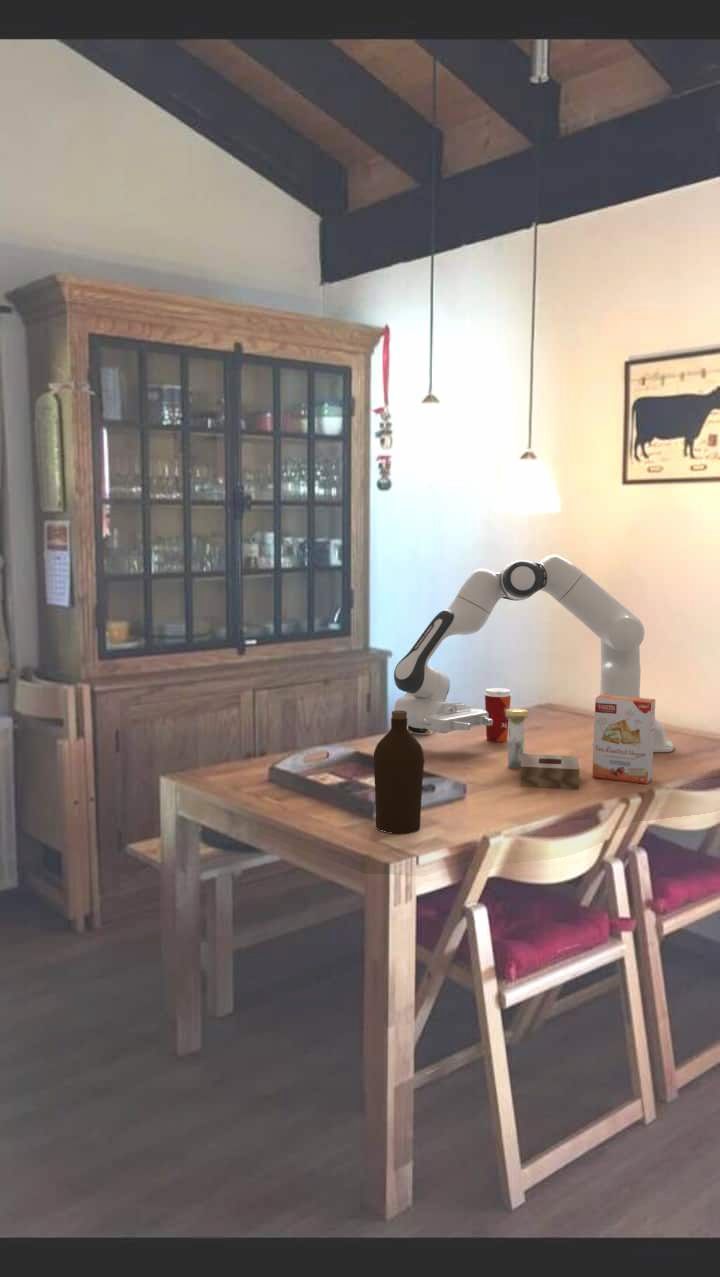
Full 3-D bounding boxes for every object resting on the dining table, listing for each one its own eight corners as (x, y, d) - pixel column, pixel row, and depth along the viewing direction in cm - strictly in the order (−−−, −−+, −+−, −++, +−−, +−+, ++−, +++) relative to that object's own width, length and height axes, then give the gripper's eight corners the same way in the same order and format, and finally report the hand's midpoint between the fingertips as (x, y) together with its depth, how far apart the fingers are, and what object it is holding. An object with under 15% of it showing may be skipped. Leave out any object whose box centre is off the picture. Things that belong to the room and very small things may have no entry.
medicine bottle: (407, 733, 317) (408, 694, 315) (415, 728, 323) (415, 690, 322) (429, 735, 314) (430, 696, 313) (437, 730, 321) (437, 692, 319)
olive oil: (396, 838, 213) (398, 718, 210) (362, 826, 221) (363, 710, 218) (433, 828, 220) (435, 712, 217) (398, 817, 228) (400, 705, 225)
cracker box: (591, 778, 264) (594, 696, 261) (597, 773, 269) (600, 693, 267) (647, 785, 257) (651, 701, 255) (652, 779, 263) (655, 698, 260)
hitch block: (577, 775, 266) (578, 756, 266) (578, 789, 253) (579, 769, 252) (522, 772, 269) (522, 753, 268) (520, 786, 255) (520, 766, 255)
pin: (527, 764, 277) (528, 709, 276) (526, 770, 272) (528, 713, 270) (504, 763, 279) (506, 708, 277) (503, 768, 273) (504, 712, 271)
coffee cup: (512, 742, 304) (513, 692, 303) (484, 742, 305) (485, 692, 303) (508, 736, 313) (510, 687, 311) (481, 736, 313) (482, 687, 311)
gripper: (416, 710, 285) (455, 718, 275) (465, 702, 299) (503, 709, 289) (416, 733, 286) (454, 741, 276) (464, 723, 300) (502, 731, 290)
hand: (480, 724), depth 283 cm, fingers open, 8 cm apart
